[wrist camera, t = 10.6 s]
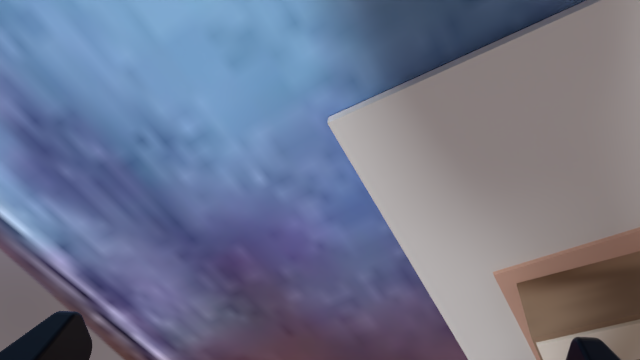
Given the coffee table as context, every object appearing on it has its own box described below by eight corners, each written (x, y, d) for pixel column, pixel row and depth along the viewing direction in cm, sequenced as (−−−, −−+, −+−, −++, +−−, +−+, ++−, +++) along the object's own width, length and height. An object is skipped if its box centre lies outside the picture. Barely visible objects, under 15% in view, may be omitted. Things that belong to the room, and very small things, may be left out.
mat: (328, 117, 21) (326, 125, 20) (783, -89, 16) (798, -86, 15) (510, 424, 30) (512, 436, 30) (834, 357, 25) (844, 370, 24)
